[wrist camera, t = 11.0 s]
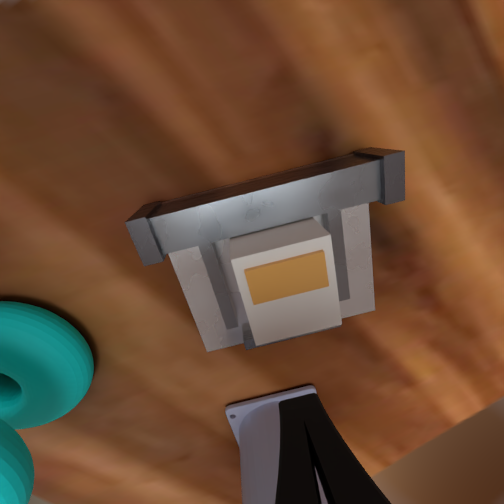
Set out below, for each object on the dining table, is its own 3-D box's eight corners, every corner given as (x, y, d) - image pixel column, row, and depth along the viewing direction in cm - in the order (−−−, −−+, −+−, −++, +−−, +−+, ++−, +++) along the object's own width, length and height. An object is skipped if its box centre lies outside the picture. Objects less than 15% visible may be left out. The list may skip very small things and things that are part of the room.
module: (311, 273, 19) (343, 327, 14) (247, 290, 19) (256, 349, 14) (299, 204, 17) (332, 236, 12) (228, 222, 17) (230, 262, 12)
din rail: (374, 304, 21) (405, 340, 18) (203, 347, 22) (199, 391, 18) (365, 146, 17) (404, 150, 13) (146, 202, 17) (124, 222, 13)
